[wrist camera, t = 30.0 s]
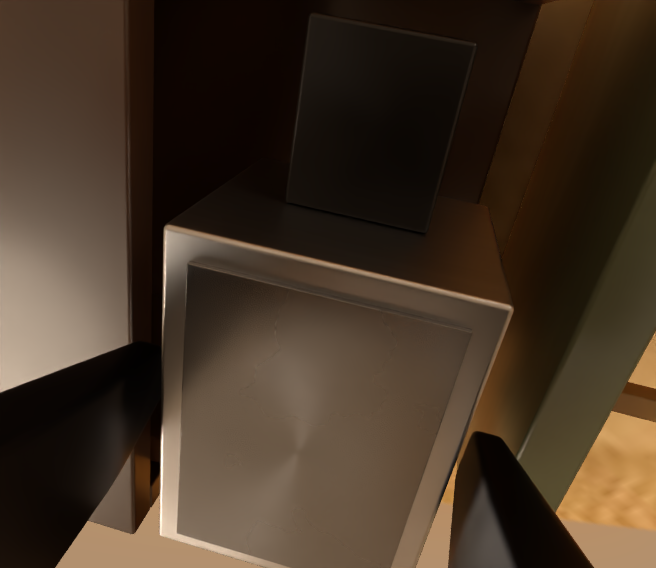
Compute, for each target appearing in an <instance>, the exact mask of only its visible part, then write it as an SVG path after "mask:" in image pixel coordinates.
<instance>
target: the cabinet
mask: <svg viewBox="0 0 656 568" xmlns="http://www.w3.org/2000/svg"><path fill="white" fill-rule="evenodd" d="M153 82H154V0H0V392H3V391H5V390H8V389H11V388H13V387H16V386H19V385H21V384H24V383H27V382H29V381H32V380H35V379H37V378H40V377H43V376H45V375H48V374H51V373H53V372H56V371H59V370H61V369H64V368H67V367H69V366H72V365H75V364H77V363H80V362H83V361H85V360H88V359H91V358H93V357H96V356H99V355H101V354H104V353H107V352H109V351H112V350H115V349H117V348H120V347H123V346H125V345H128V344H130V343H133V342H136V341H145V342H149V343H151V316H152V199H153ZM150 433H151V417H150V419H149V421H148V422H147V424H146V426H145V428H144V430H143V432H142V433H141V435H140V437H139V439H138V441H137V443H136V444H135V446H134V448H133V450H132V452H131V454H130V455H129V457H128V459H127V461H126V463H125V465H124V466H123V468H122V470H121V472H120V473H119V475H118V477H117V478H116V480H115V482H114V483H113V485H112V486H111V488H110V489H109V491H108V492H107V494H106V495H105V496H104V498H103V499H102V501H101V502H100V504H99V505H98V507H97V508H96V509H95V511H94V512H93V514H92V515H91V517H90V518H89V520H88V521H91V522H94V523H97V524H101V525H104V526H107V527H110V528H114V529H117V530H120V531H124V532H126V533H130V534H134V533H135V532H136V531H137V529H138V527H139V526H140V524H141V523H142V521H143V519H144V518H145V516H146V515H147V513H148V511H149V510H150V507H152V505H153V504H154V502H155V500H156V499H157V497H158V496H159V494H160V463H159V462H156V461H152V460H150Z"/></svg>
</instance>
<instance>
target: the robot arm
mask: <svg viewBox="0 0 656 568" xmlns="http://www.w3.org/2000/svg"><path fill="white" fill-rule="evenodd" d="M161 373H162V347H161V346H160V345H156V344H153V343H149V342H145V341H136V342H133V343H130V344H128V345H125V346H123V347H120V348H117V349H115V350H112V351H109V352H107V353H104V354H101V355H99V356H96V357H93V358H91V359H88V360H85V361H83V362H80V363H77V364H75V365H72V366H69V367H67V368H64V369H61V370H59V371H56V372H53V373H51V374H48V375H45V376H43V377H40V378H37V379H35V380H32V381H29V382H27V383H24V384H21V385H19V386H16V387H13V388H11V389H8V390H5V391H3V392H0V568H55V567H56V566H57V564H58V562H59V561H60V560H61V558H62V557H63V555H64V554H65V553H66V551H67V550H68V548H69V547H70V545H71V544H72V542H73V541H74V540H75V538H76V537H77V535H78V534H79V532H80V531H81V530H82V528H83V527H84V525H85V524H86V522H87V521H88V520H89V518H90V517H91V515H92V514H93V512H94V511H95V509H96V508H97V507H98V505H99V504H100V502H101V501H102V499H103V498H104V496H105V495H106V494H107V492H108V491H109V489H110V488H111V486H112V485H113V483H114V482H115V480H116V478H117V477H118V475H119V473H120V472H121V470H122V468H123V466H124V465H125V463H126V461H127V459H128V457H129V455H130V454H131V452H132V450H133V448H134V446H135V444H136V443H137V441H138V439H139V437H140V435H141V433H142V432H143V430H144V428H145V426H146V424H147V422H148V421H149V419H150V417H151V415H152V413H153V411H154V410H155V408H156V406H157V404H158V402H159V400H160V398H161ZM448 564H449V565H448V568H594V567H593V566H592V564H591V563H590V561H589V560H588V559H587V557H586V556H585V554H584V553H583V552H582V550H581V549H580V547H579V546H578V545H577V543H576V542H575V541H574V539H573V538H572V536H571V535H570V533H569V532H568V531H567V529H566V528H565V526H564V525H563V524H562V522H561V521H560V519H559V518H558V516H557V515H556V514H555V512H554V511H553V509H552V508H551V507H550V505H549V504H548V502H547V501H546V500H545V498H544V497H543V495H542V494H541V492H540V491H539V490H538V488H537V487H536V485H535V484H534V483H533V481H532V480H531V478H530V477H529V476H528V474H527V473H526V471H525V470H524V469H523V467H522V466H521V464H520V463H519V462H518V460H517V459H516V457H515V456H514V454H513V453H512V452H511V450H510V449H509V447H508V446H507V445H506V443H505V442H504V440H503V439H502V438H500V437H499V436H496V435H492V434H489V433H485V432H481V431H475V432H473V433H472V435H471V437H470V439H469V441H468V444H467V446H466V449H465V451H464V454H463V456H462V459H461V461H460V464H459V467H458V470H457V474H456V479H455V489H454V501H453V513H452V525H451V539H450V550H449V563H448Z"/></svg>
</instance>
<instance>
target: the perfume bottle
mask: <svg viewBox="0 0 656 568" xmlns="http://www.w3.org/2000/svg"><path fill="white" fill-rule="evenodd" d="M477 49H478V46H477V43H475V42H474V41H470V40H465V39H460V38H454V37H449V36H444V35H438V34H433V33H427V32H422V31H416V30H411V29H405V28H400V27H395V26H389V25H384V24H378V23H373V22H367V21H362V20H356V19H351V18H346V17H340V16H335V15H329V14H322V13H316V12H312V13H310V14H309V16H308V23H307V31H306V38H305V46H304V54H303V62H302V70H301V77H300V85H299V93H298V101H297V109H296V116H295V124H294V132H293V140H292V148H291V155H290V163H285V162H280V161H276V160H271V159H267V158H262V159H260V160H258V161H257V162H256V163H254V164H253V165H251V166H250V167H248V168H247V169H245V170H244V171H242V172H241V173H239V174H238V175H237V176H235V177H234V178H232V179H231V180H229V181H228V182H226V183H225V184H223V185H222V186H221V187H219V188H218V189H216V190H215V191H213V192H212V193H210V194H209V195H207V196H206V197H205V198H203V199H202V200H200V201H199V202H197V203H196V204H194V205H193V206H191V207H190V208H189V209H187V210H186V211H184V212H183V213H181V214H180V215H178V216H177V217H175V218H174V219H173V220H171V221H170V222H168V223H167V224H166V225H165V227H164V239H163V306H162V373H161V440H160V508H159V512H160V513H159V534H160V535H161V536H163V537H166V538H170V539H173V540H176V541H179V542H183V543H186V544H189V545H192V546H196V547H199V548H202V549H206V550H209V551H212V552H215V553H219V554H222V555H226V556H229V557H232V558H235V559H238V560H242V561H245V562H249V563H252V564H255V565H259V566H261V567H265V568H416V565H417V562H418V560H419V557H420V555H421V552H422V549H423V547H424V544H425V541H426V539H427V536H428V533H429V531H430V528H431V526H432V523H433V520H434V518H435V515H436V513H437V510H438V507H439V505H440V502H441V500H442V497H443V494H444V492H445V489H446V487H447V484H448V481H449V479H450V476H451V474H452V471H453V468H454V466H455V463H456V461H457V458H458V455H459V453H460V450H461V447H462V445H463V442H464V440H465V437H466V434H467V432H468V429H469V427H470V424H471V421H472V419H473V416H474V413H475V411H476V408H477V406H478V403H479V400H480V398H481V395H482V393H483V390H484V387H485V385H486V382H487V380H488V377H489V374H490V372H491V369H492V366H493V364H494V361H495V359H496V356H497V353H498V351H499V348H500V346H501V343H502V340H503V338H504V335H505V332H506V330H507V327H508V325H509V322H510V319H511V317H512V314H513V312H514V307H513V303H512V299H511V295H510V291H509V287H508V283H507V279H506V275H505V271H504V267H503V263H502V259H501V255H500V251H499V247H498V243H497V239H496V235H495V231H494V227H493V223H492V219H491V215H490V211H489V208H488V207H487V206H483V205H479V204H474V203H470V202H465V201H460V200H456V199H451V198H446V197H442V196H438V193H439V189H440V186H441V182H442V178H443V175H444V171H445V167H446V164H447V160H448V156H449V152H450V149H451V145H452V141H453V138H454V134H455V130H456V127H457V123H458V119H459V116H460V112H461V108H462V104H463V101H464V97H465V93H466V90H467V86H468V82H469V79H470V75H471V71H472V67H473V64H474V60H475V56H476V53H477Z"/></svg>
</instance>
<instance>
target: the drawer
mask: <svg viewBox="0 0 656 568" xmlns="http://www.w3.org/2000/svg"><path fill="white" fill-rule="evenodd" d="M554 1H558V0H154V82H153V199H152V316H151V343H153V344H156V345H160V346H161V347H162V306H163V239H164V227H165V225H166V224H167V223H168V222H170V221H171V220H173V219H174V218H175V217H177V216H178V215H180V214H181V213H183V212H184V211H186V210H187V209H189V208H190V207H191V206H193V205H194V204H196V203H197V202H199V201H200V200H202V199H203V198H205V197H206V196H207V195H209V194H210V193H212V192H213V191H215V190H216V189H218V188H219V187H221V186H222V185H223V184H225V183H226V182H228V181H229V180H231V179H232V178H234V177H235V176H237V175H238V174H239V173H241V172H242V171H244V170H245V169H247V168H248V167H250V166H251V165H253V164H254V163H256V162H257V161H258V160H260V159H262V158H267V159H271V160H276V161H280V162H285V163H290V155H291V148H292V140H293V132H294V124H295V116H296V109H297V101H298V93H299V85H300V77H301V70H302V62H303V54H304V46H305V38H306V31H307V23H308V16H309V14H310V13H312V12H316V13H322V14H329V15H335V16H340V17H346V18H351V19H356V20H362V21H367V22H373V23H378V24H384V25H389V26H395V27H400V28H405V29H411V30H416V31H422V32H427V33H433V34H438V35H444V36H449V37H454V38H460V39H465V40H470V41H474V42H475V43H477V46H478V49H477V53H476V56H475V60H474V64H473V67H472V71H471V75H470V79H469V82H468V86H467V90H466V93H465V97H464V101H463V104H462V108H461V112H460V116H459V119H458V123H457V127H456V130H455V134H454V138H453V141H452V145H451V149H450V152H449V156H448V160H447V164H446V167H445V171H444V175H443V178H442V182H441V186H440V189H439V193H438V196H442V197H446V198H451V199H456V200H460V201H465V202H470V203H474V204H479V201H480V197H481V194H482V191H483V188H484V185H485V182H486V179H487V175H488V172H489V169H490V166H491V163H492V160H493V157H494V153H495V150H496V147H497V144H498V141H499V138H500V135H501V131H502V128H503V125H504V122H505V119H506V116H507V113H508V109H509V106H510V103H511V100H512V97H513V94H514V91H515V87H516V84H517V81H518V78H519V75H520V72H521V68H522V65H523V62H524V59H525V56H526V53H527V50H528V46H529V43H530V40H531V37H532V34H533V31H534V28H535V24H536V21H537V18H538V15H539V12H540V9H541V6H542V5H543V4H547V3H551V2H554ZM502 263H503V267H504V271H505V275H506V279H507V283H508V287H509V291H510V295H511V299H512V303H513V307H514V312H513V314H512V317H511V319H510V322H509V325H508V327H507V330H506V332H505V335H504V338H503V340H502V343H501V346H500V348H499V351H498V353H497V356H496V359H495V361H494V364H493V366H492V369H491V372H490V374H489V377H488V380H487V382H486V385H485V387H484V390H483V393H482V395H481V398H480V400H479V403H478V406H477V408H476V411H475V413H474V416H473V419H472V421H471V424H470V427H469V429H468V432H467V434H466V437H465V440H464V442H463V445H462V447H461V450H460V453H459V455H458V458H457V470H458V467H459V464H460V461H461V459H462V456H463V454H464V451H465V449H466V446H467V444H468V441H469V439H470V437H471V435H472V433H473V432H475V431H481V432H485V433H489V434H492V435H496V436H499V437H500V438H502V439H503V440H504V442H505V443H506V445H507V446H508V447H509V449H510V450H511V452H512V453H513V454H514V456H515V457H516V459H517V460H518V462H519V463H520V464H521V466H522V467H523V469H524V470H525V471H526V473H527V474H528V476H529V477H530V478H531V480H532V481H533V483H534V484H535V485H536V487H537V488H538V490H539V491H540V492H541V494H542V495H543V497H544V498H545V500H546V501H547V502H548V504H549V505H550V507H551V508H552V509H553V511H554V512H556V510H557V509H558V507H559V505H560V503H561V501H562V500H563V498H564V496H565V494H566V492H567V491H568V489H569V487H570V485H571V483H572V482H573V480H574V478H575V476H576V474H577V472H578V471H579V469H580V467H581V465H582V463H583V462H584V460H585V458H586V456H587V454H588V453H589V451H590V449H591V447H592V445H593V444H594V442H595V440H596V438H597V436H598V434H599V433H600V431H601V429H602V427H603V425H604V424H605V422H606V420H607V418H608V416H609V415H610V413H611V411H614V412H618V413H622V414H626V415H630V416H634V417H637V418H641V419H645V420H649V421H653V422H656V389H654V388H650V387H646V386H642V385H638V384H634V383H630V382H628V380H629V378H630V377H631V375H632V373H633V371H634V369H635V368H636V366H637V364H638V362H639V360H640V358H641V357H642V355H643V353H644V351H645V349H646V348H647V346H648V344H649V342H650V340H651V339H652V337H653V335H654V333H655V331H656V0H594V3H593V5H592V8H591V11H590V14H589V17H588V19H587V22H586V25H585V28H584V31H583V33H582V36H581V39H580V42H579V44H578V47H577V50H576V53H575V56H574V58H573V61H572V64H571V67H570V70H569V72H568V75H567V78H566V81H565V84H564V86H563V89H562V92H561V95H560V97H559V100H558V103H557V106H556V109H555V111H554V114H553V117H552V120H551V123H550V125H549V128H548V131H547V134H546V137H545V139H544V142H543V145H542V148H541V150H540V153H539V156H538V159H537V162H536V164H535V167H534V170H533V173H532V176H531V178H530V181H529V184H528V187H527V189H526V192H525V195H524V198H523V201H522V203H521V206H520V209H519V212H518V215H517V217H516V220H515V223H514V226H513V229H512V231H511V234H510V237H509V240H508V242H507V245H506V248H505V251H504V254H503V256H502ZM160 440H161V398H160V400H159V402H158V404H157V406H156V408H155V410H154V411H153V413H152V415H151V433H150V460H152V461H156V462H159V463H160Z"/></svg>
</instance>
